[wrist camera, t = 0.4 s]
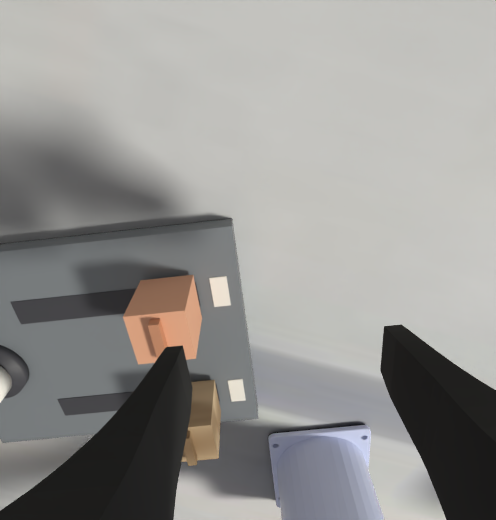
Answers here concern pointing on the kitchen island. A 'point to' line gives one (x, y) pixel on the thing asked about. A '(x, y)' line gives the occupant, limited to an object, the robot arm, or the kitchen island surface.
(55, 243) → the panel
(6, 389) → the button
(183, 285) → the terracotta knob
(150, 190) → the kitchen island surface
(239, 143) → the kitchen island surface
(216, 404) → the oak knob
